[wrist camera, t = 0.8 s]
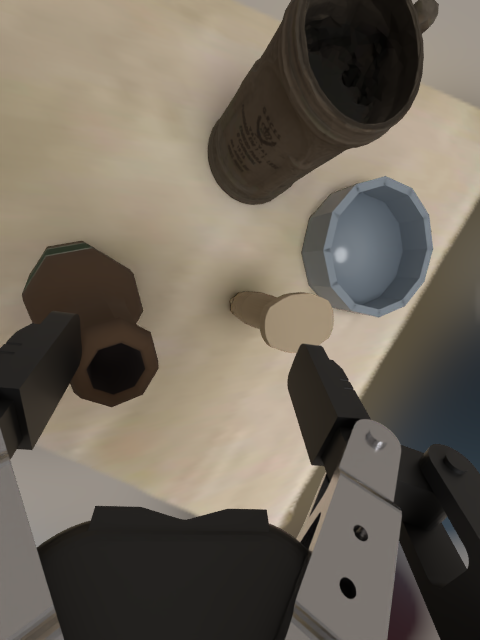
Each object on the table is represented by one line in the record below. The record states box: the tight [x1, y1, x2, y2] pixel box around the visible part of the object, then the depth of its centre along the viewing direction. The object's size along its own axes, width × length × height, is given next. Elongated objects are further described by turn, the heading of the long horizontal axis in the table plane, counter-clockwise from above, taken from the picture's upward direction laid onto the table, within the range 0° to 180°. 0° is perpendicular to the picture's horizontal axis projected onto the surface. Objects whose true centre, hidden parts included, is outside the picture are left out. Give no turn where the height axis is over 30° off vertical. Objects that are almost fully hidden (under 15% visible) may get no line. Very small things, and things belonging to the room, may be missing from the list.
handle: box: [230, 292, 334, 353], centre depth 32 cm, size 5×6×15 cm
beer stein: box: [208, 0, 439, 204], centre depth 28 cm, size 15×11×20 cm
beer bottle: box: [22, 241, 158, 407], centre depth 22 cm, size 8×8×24 cm
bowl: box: [302, 176, 433, 317], centre depth 41 cm, size 17×17×5 cm
